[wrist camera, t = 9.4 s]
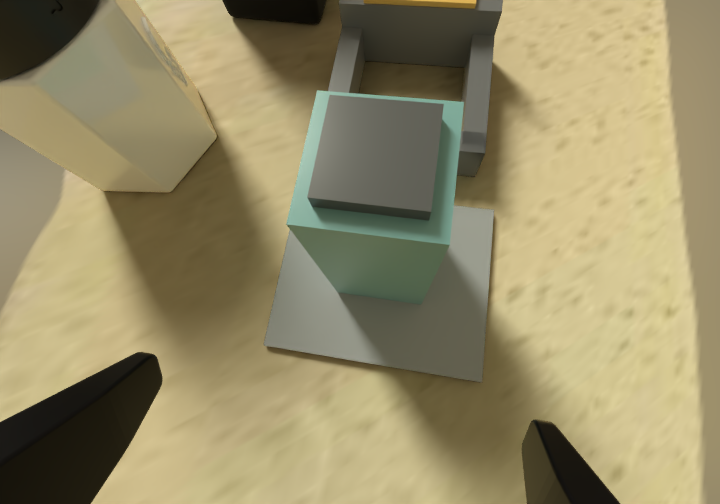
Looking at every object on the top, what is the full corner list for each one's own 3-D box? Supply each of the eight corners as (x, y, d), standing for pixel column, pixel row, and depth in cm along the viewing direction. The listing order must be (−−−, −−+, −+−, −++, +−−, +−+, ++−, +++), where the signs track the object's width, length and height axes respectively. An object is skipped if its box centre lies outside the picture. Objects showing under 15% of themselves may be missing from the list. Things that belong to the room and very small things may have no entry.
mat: (480, 382, 18) (482, 382, 18) (265, 345, 20) (263, 345, 19) (492, 212, 21) (494, 209, 20) (300, 190, 22) (299, 187, 22)
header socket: (474, 176, 21) (494, 132, 17) (325, 161, 23) (310, 116, 18) (485, 53, 24) (504, -12, 20) (350, 44, 25) (341, -19, 21)
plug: (420, 304, 19) (453, 237, 9) (337, 292, 20) (280, 215, 10) (430, 225, 20) (467, 87, 10) (351, 215, 21) (313, 75, 11)
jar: (234, 164, 23) (78, -34, 12) (110, 222, 23) (-180, 76, 11) (189, 62, 26) (26, -181, 14) (77, 113, 25) (-184, -97, 14)
